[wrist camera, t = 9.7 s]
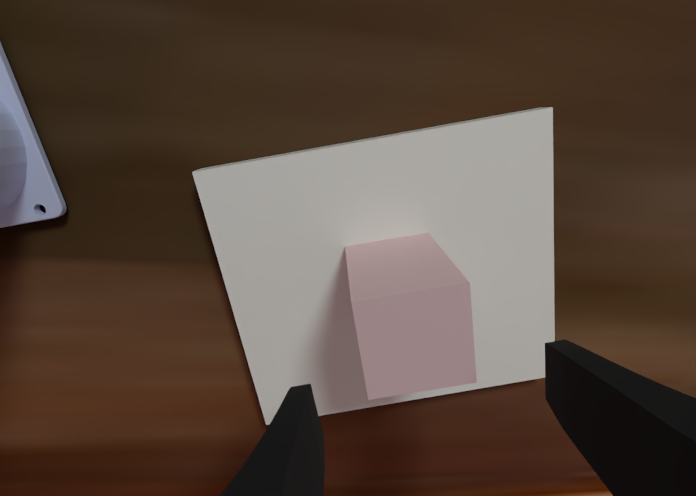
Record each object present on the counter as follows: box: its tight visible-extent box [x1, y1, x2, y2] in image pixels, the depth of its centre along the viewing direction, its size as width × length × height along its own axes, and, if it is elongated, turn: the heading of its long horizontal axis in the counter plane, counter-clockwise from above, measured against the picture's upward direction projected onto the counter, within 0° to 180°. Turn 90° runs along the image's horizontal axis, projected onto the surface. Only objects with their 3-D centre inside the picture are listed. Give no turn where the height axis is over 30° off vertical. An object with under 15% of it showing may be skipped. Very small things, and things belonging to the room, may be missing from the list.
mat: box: [192, 107, 555, 425], centre depth 20 cm, size 16×14×1 cm
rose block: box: [345, 233, 477, 400], centre depth 17 cm, size 4×4×6 cm
